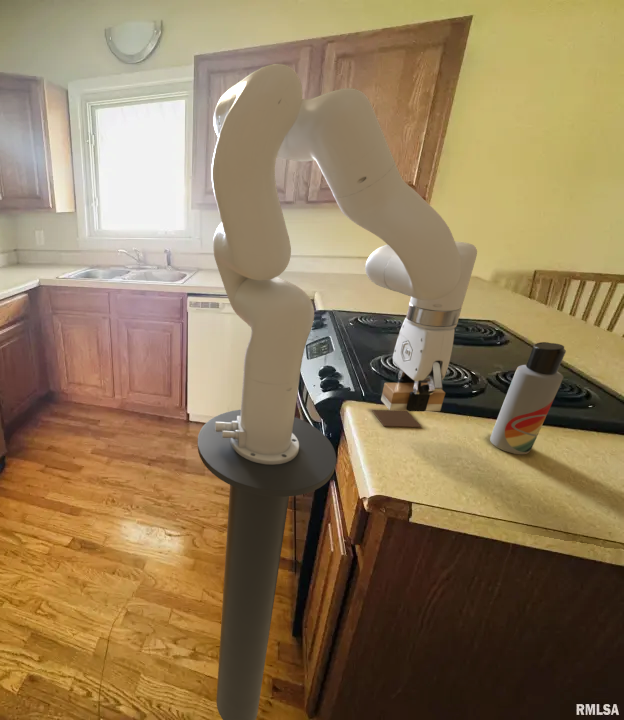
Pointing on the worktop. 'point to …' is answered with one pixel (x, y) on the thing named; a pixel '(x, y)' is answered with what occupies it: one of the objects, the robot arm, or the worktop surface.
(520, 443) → the lotion bottle
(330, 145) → the robot arm
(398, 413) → the brown square tile
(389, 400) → the scrub brush
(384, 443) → the worktop surface
